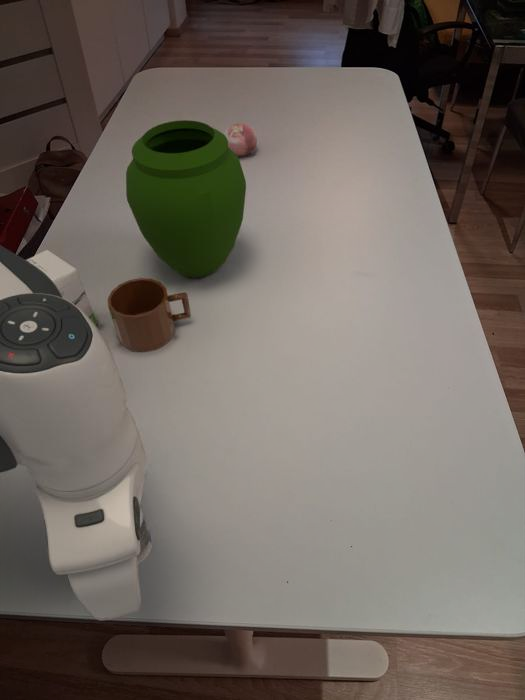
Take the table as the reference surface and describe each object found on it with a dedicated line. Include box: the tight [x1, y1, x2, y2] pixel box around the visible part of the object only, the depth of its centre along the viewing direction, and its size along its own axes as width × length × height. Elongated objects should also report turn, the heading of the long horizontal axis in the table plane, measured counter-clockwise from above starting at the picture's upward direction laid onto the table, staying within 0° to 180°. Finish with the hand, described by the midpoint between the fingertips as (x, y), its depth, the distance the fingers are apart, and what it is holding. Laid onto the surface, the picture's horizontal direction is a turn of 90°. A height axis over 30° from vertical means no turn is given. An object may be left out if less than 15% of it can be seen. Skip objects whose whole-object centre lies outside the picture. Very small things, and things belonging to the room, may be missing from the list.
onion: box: [223, 122, 258, 158], centre depth 126 cm, size 8×8×7 cm
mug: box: [107, 277, 192, 353], centre depth 85 cm, size 12×9×8 cm
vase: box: [125, 119, 247, 279], centre depth 90 cm, size 20×20×24 cm
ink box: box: [25, 249, 99, 327], centre depth 85 cm, size 9×5×12 cm, turn 49°
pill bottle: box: [137, 507, 153, 565], centre depth 54 cm, size 5×5×8 cm
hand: (124, 533), depth 55 cm, fingers closed on pill bottle, 5 cm apart
